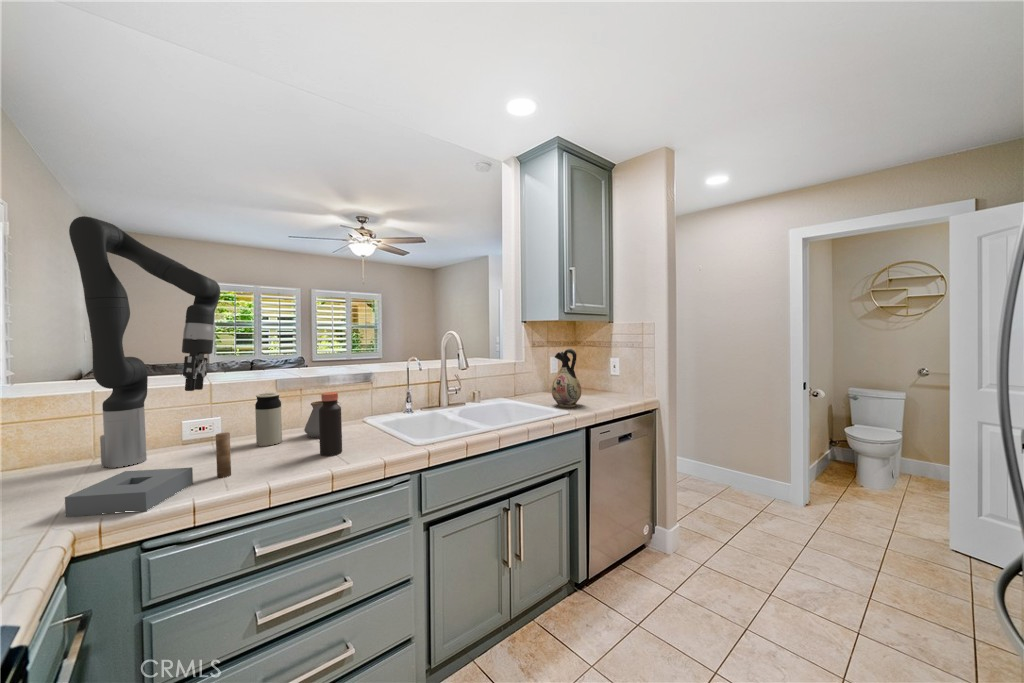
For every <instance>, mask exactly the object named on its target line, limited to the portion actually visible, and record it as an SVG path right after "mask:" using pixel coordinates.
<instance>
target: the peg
mask: <svg viewBox="0 0 1024 683" xmlns="http://www.w3.org/2000/svg"><path fill="white" fill-rule="evenodd" d="M230 435H231V433H230V432H227V431H225V432H219V433H217V434H215V450H216V451H215V453H216V454H215V455H216V478H217V477H218V479H223V477H224V478H228V477H230V476H232V465H231V464H232V461H231V458H232V457H231V456H232V455H231V436H230ZM227 476H228V477H227Z"/></svg>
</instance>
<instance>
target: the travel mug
mask: <svg viewBox="0 0 1024 683" xmlns="http://www.w3.org/2000/svg"><path fill="white" fill-rule="evenodd" d="M280 395H281V393H280V392H265V393H263V392H262V393H258V394H256V395H255V397H256V400H257V401H256V403H255V404H254V409H255V410H254V411H255V412H254V413H255V438H256V439H255V440H256V443H255V444H256V445H257V446H258V445H259V447H269V446H268V445H271V446H275V445H274V444H276V445H279V444H280V443H282V442H283V424H282V423H283V420H282V416H283V415H282V401H281V400H280V399H279V398H280ZM278 443H279V444H278Z"/></svg>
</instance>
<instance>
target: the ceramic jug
mask: <svg viewBox="0 0 1024 683" xmlns="http://www.w3.org/2000/svg"><path fill="white" fill-rule="evenodd" d="M568 354H571V355H572V360H571V358H570V356H568ZM554 358H555V359H557V360H559V361H561V367H560V369H559V371H558V372H557V374H556V375H555V377H554V380H553V381H552V384H551V395H552V398H553V400H554V401H555V402H556V403H557V406H558V407H559V408H560V407H561V408H573V407H574V408H575V407H576V406H577V403H578V401H579V400H580V398H581V397H582V387H581V383H580V381H579V379H578V377H577V374H576V372H575V370H574V369H575V367H576V362H577V352H576V351H575V350H574V349H572V348H568V349H565V350H564V351H561V352H557V353H556V354H555V355H554ZM570 362H571V365H569V363H570Z"/></svg>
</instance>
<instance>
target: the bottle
mask: <svg viewBox="0 0 1024 683" xmlns="http://www.w3.org/2000/svg"><path fill="white" fill-rule="evenodd" d="M338 397H339V393H338V392H336V391H335V392H333V391H332V392H324V393H323V392H322V393H321V401H322V402H323V405H322V406H321V407H320V409H319V437H318V439H319V455H321V456H323V457H331V456H337V455H339V453H340V454H341V453H342V452H343V432H342V427H343V426H342V425H343V424H342V406H341V405H340V404H339V403H337V401H338V400H339V398H338ZM338 402H339V401H338Z"/></svg>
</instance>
